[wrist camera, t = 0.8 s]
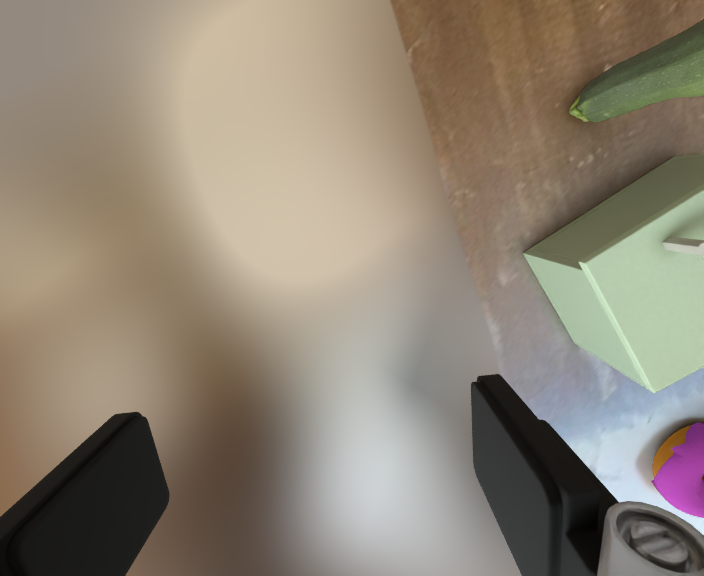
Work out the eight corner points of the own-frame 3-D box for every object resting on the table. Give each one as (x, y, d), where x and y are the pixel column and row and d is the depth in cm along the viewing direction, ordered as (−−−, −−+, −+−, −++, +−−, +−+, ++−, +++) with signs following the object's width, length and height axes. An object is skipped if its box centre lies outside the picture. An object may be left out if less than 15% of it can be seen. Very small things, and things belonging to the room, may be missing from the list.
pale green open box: (522, 253, 33) (581, 270, 25) (673, 156, 31) (796, 138, 23) (574, 343, 36) (645, 388, 27) (718, 259, 33) (844, 278, 25)
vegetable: (588, 68, 29) (1051, -191, 10) (622, 101, 30) (1118, -82, 11) (551, 113, 30) (912, -45, 11) (586, 145, 31) (984, 47, 12)
